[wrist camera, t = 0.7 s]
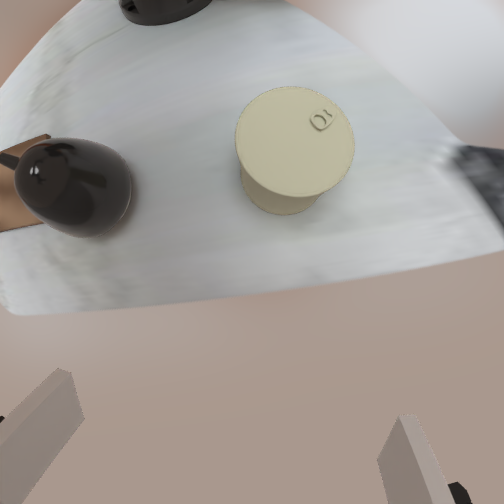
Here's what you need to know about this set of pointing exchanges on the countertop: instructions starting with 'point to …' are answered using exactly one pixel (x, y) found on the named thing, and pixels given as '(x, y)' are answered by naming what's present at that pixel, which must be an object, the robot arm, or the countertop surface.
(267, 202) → the can
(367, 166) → the countertop surface
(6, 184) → the walnut board
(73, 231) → the pump dispenser
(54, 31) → the countertop surface
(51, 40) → the countertop surface
